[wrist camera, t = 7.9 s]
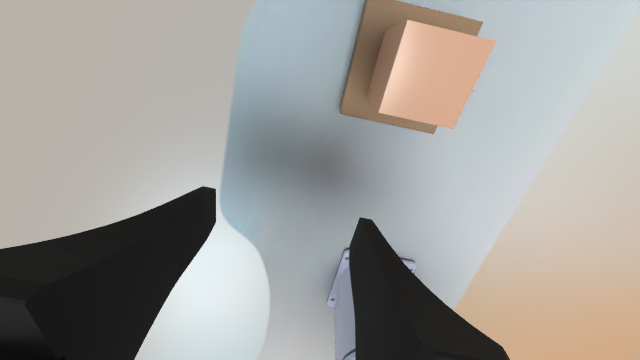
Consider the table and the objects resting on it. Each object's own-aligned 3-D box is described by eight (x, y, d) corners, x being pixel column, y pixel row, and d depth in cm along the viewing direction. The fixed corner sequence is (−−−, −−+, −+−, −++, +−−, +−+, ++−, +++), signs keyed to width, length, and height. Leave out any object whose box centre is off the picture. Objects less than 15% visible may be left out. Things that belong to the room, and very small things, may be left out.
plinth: (424, 126, 19) (433, 134, 17) (339, 108, 19) (340, 113, 17) (466, 25, 16) (483, 22, 14) (365, 1, 16) (369, -6, 14)
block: (421, 109, 17) (453, 129, 12) (366, 97, 16) (378, 112, 12) (447, 45, 15) (495, 40, 10) (385, 30, 15) (407, 19, 10)
